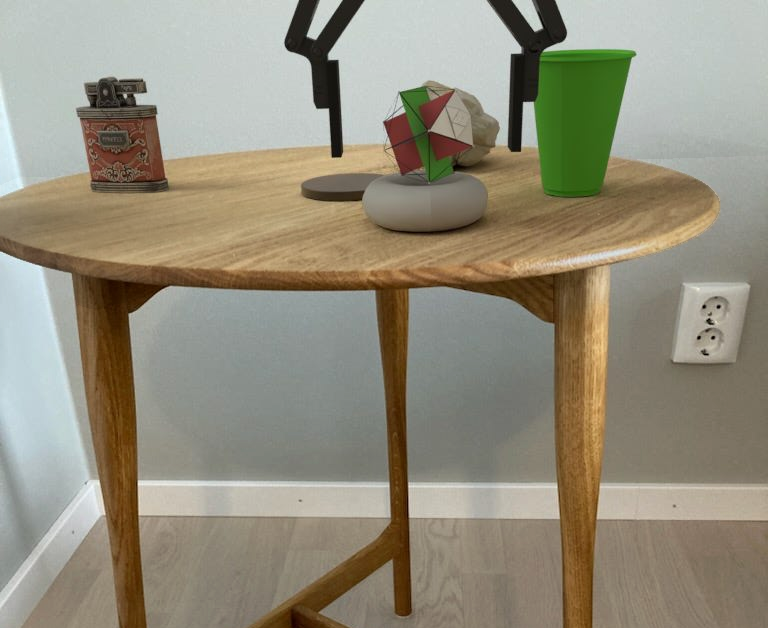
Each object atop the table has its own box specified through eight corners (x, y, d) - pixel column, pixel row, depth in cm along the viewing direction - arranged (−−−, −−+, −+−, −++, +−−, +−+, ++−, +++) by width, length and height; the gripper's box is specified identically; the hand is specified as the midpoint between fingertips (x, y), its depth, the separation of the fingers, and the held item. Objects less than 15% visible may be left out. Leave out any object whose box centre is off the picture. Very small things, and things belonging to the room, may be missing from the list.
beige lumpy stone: (468, 153, 102) (387, 171, 99) (459, 71, 98) (375, 88, 95) (526, 159, 92) (439, 179, 89) (520, 68, 88) (428, 86, 85)
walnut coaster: (297, 202, 81) (296, 193, 81) (306, 183, 89) (305, 174, 89) (397, 198, 81) (397, 189, 81) (397, 180, 89) (397, 171, 89)
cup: (637, 184, 82) (650, 48, 77) (604, 205, 76) (615, 57, 70) (543, 179, 86) (549, 49, 81) (504, 197, 80) (508, 57, 74)
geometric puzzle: (345, 152, 70) (397, 60, 65) (390, 138, 75) (442, 51, 70) (412, 216, 70) (470, 128, 64) (453, 198, 75) (509, 115, 69)
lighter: (84, 192, 90) (62, 80, 85) (101, 185, 93) (81, 76, 88) (159, 192, 88) (142, 78, 83) (174, 185, 91) (158, 74, 86)
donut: (455, 205, 79) (346, 215, 76) (456, 162, 77) (344, 172, 74) (509, 228, 71) (389, 242, 68) (512, 182, 69) (388, 193, 66)
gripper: (223, -195, 57) (257, 165, 67) (627, -212, 56) (597, 155, 67) (241, -177, 63) (270, 149, 74) (603, -192, 62) (580, 139, 73)
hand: (425, 152), depth 70 cm, fingers open, 13 cm apart
